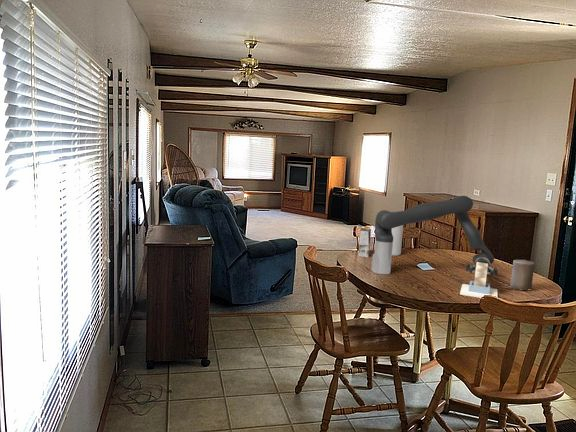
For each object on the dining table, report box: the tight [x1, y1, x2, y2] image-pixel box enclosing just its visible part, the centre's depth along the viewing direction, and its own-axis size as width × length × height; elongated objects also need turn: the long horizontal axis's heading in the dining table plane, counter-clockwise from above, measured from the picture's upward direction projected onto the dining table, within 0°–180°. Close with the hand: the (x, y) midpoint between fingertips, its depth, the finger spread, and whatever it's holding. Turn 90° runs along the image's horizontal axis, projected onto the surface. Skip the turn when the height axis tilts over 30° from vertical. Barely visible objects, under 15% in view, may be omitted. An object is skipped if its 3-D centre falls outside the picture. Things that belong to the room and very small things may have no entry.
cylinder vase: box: [392, 225, 404, 257], centre depth 303 cm, size 12×12×25 cm
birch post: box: [473, 262, 488, 287], centre depth 227 cm, size 5×5×13 cm
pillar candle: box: [509, 259, 535, 291], centre depth 239 cm, size 10×10×15 cm
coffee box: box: [358, 228, 372, 258], centre depth 295 cm, size 9×6×16 cm
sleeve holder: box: [459, 280, 498, 299], centre depth 227 cm, size 16×16×4 cm
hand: (481, 272), depth 226 cm, fingers open, 8 cm apart
